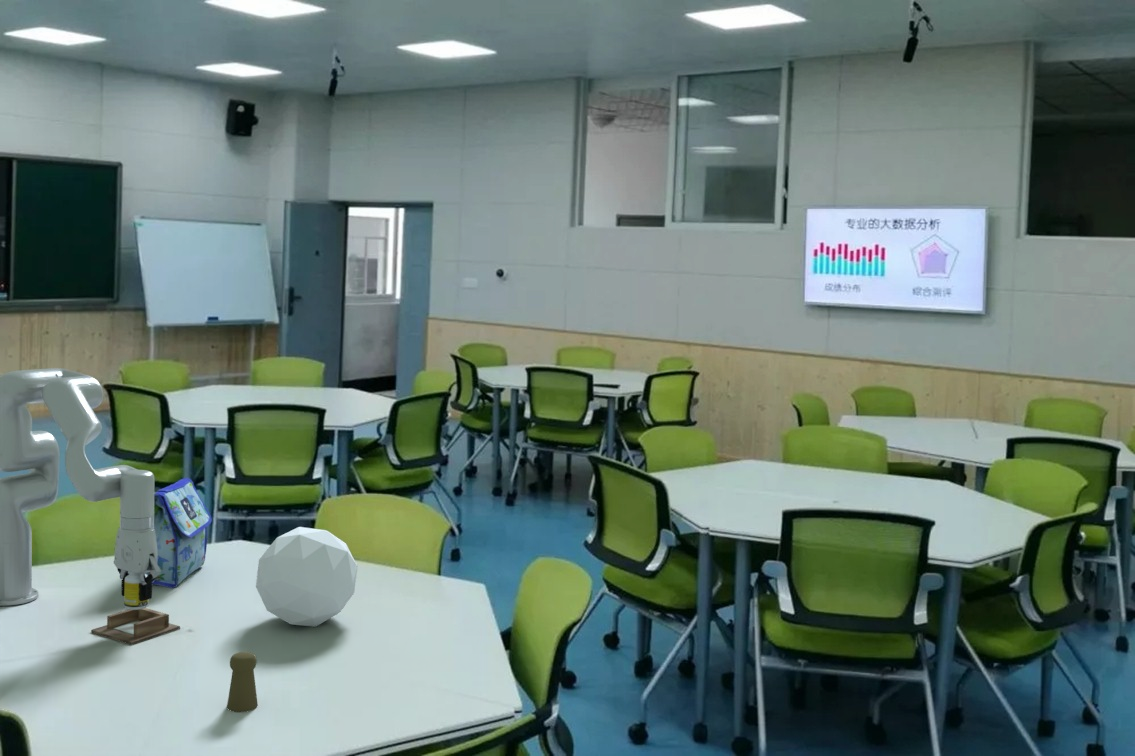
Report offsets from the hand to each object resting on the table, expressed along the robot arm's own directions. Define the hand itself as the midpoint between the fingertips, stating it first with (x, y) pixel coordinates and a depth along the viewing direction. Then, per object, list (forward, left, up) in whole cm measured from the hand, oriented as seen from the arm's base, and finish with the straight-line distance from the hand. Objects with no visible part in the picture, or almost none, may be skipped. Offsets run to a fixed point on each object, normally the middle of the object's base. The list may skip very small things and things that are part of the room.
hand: (136, 596), depth 261 cm
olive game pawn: (+52, -17, -9) cm, 55 cm away
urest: (0, 0, -8) cm, 8 cm away
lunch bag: (-28, +35, -9) cm, 46 cm away
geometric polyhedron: (+27, +29, -9) cm, 41 cm away
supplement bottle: (0, 0, -3) cm, 3 cm away
